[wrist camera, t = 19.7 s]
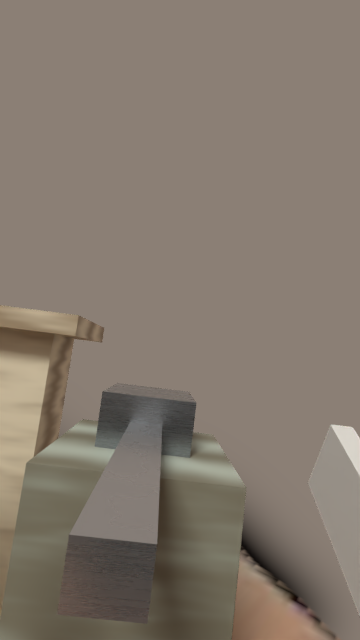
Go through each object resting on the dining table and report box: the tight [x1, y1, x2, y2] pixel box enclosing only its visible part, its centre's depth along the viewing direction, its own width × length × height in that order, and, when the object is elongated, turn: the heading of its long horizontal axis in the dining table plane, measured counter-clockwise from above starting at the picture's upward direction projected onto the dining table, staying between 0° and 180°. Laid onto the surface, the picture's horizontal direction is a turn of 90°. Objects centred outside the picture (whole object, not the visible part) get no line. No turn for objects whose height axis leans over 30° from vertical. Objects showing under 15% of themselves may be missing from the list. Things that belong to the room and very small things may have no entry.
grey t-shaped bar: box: [57, 383, 196, 624], centre depth 21 cm, size 24×7×4 cm, turn 3°
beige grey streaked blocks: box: [0, 305, 246, 640], centre depth 32 cm, size 26×28×30 cm
